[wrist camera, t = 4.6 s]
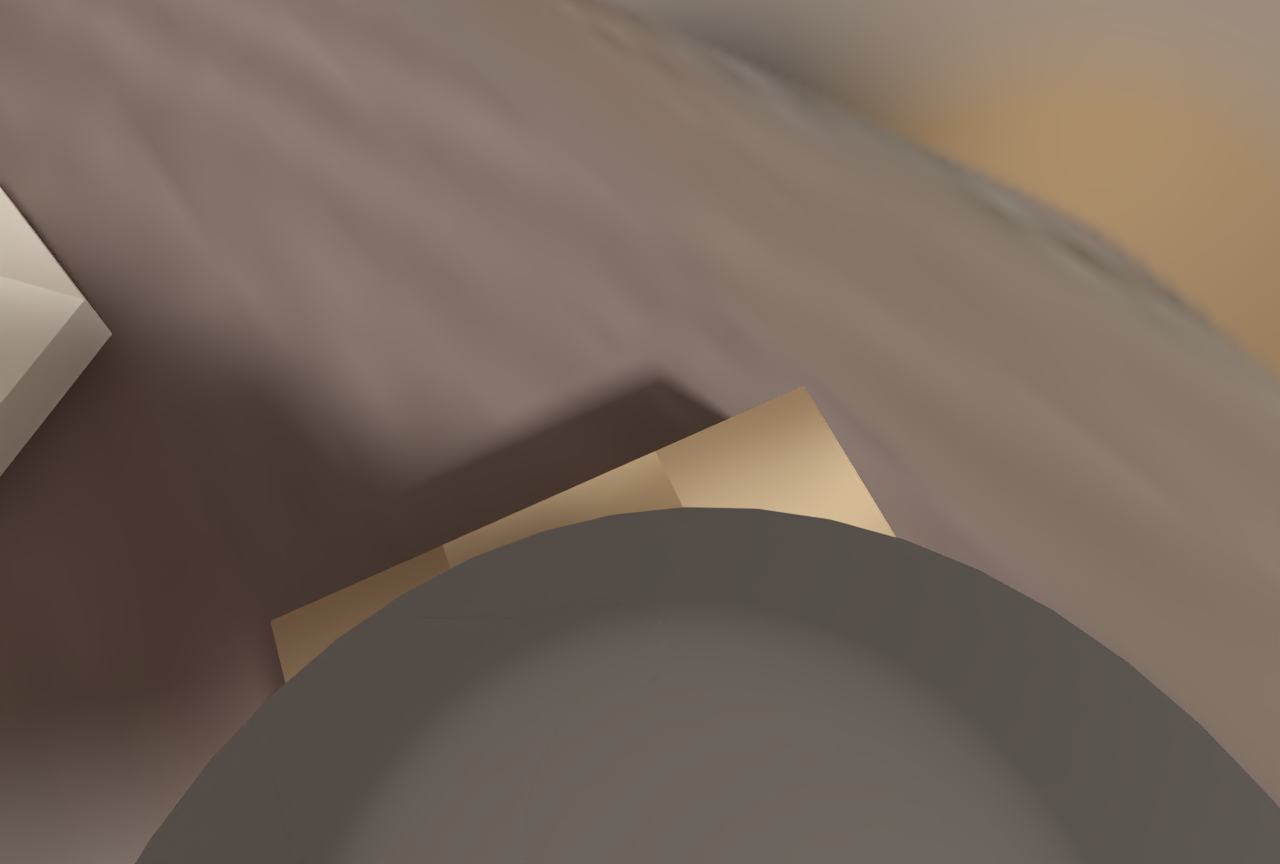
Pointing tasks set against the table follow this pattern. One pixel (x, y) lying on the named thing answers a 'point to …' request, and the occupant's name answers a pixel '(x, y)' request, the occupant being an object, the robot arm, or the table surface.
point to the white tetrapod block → (37, 332)
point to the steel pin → (718, 719)
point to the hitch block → (632, 507)
